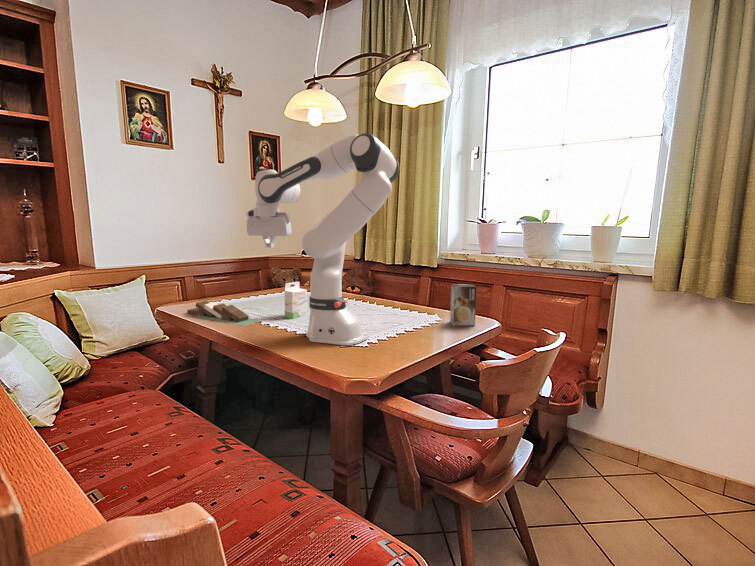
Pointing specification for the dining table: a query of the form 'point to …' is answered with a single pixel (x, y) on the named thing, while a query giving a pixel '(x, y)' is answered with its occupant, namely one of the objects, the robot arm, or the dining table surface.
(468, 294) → the coffee box
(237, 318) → the domino
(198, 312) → the domino
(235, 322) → the felt mat
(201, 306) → the domino
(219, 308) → the domino
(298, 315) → the ink box
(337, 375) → the dining table surface
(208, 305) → the ivory domino
